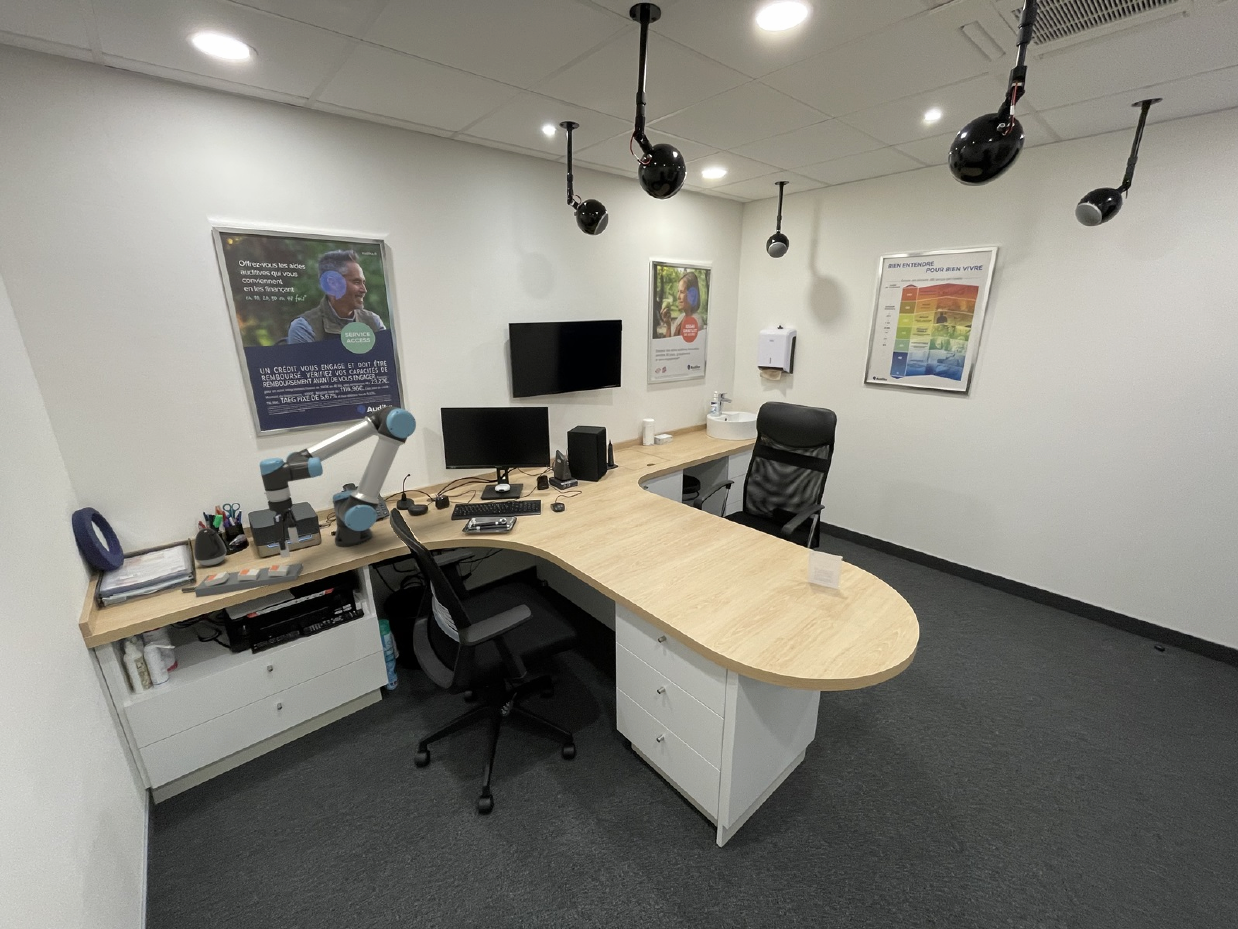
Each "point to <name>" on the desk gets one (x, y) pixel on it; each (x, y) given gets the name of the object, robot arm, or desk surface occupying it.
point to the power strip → (245, 582)
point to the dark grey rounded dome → (209, 547)
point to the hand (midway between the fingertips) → (290, 549)
